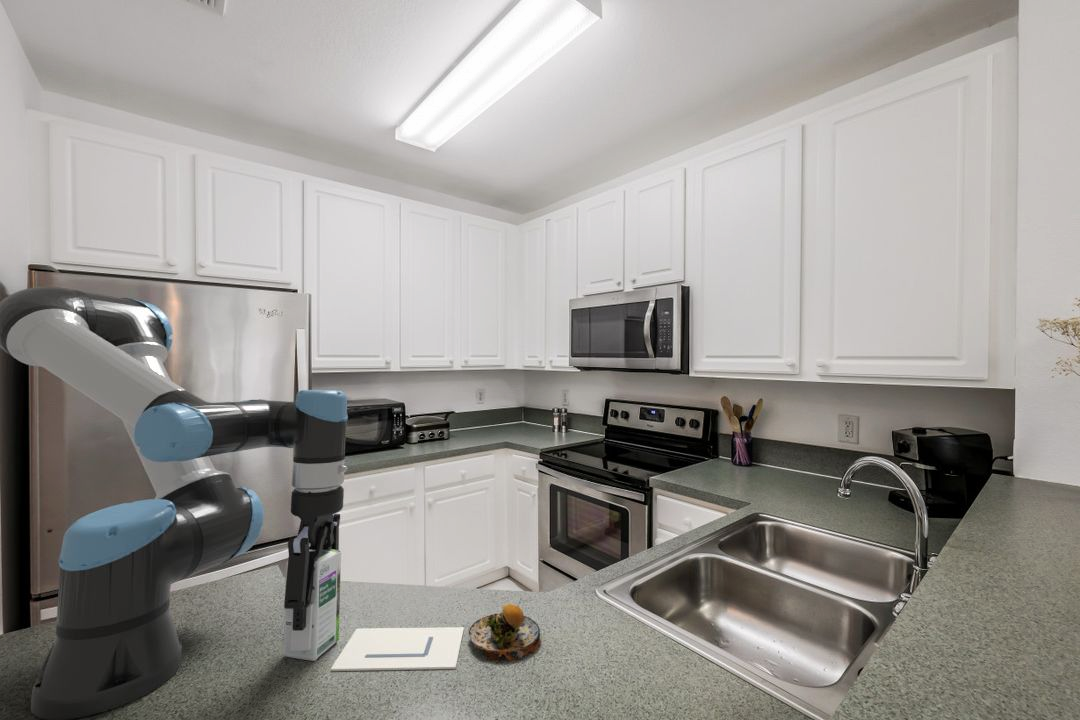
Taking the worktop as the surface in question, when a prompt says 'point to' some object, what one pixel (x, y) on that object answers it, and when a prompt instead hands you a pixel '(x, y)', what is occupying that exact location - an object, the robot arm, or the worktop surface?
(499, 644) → the salad plate
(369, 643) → the paper
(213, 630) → the worktop surface
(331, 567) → the syrup box
